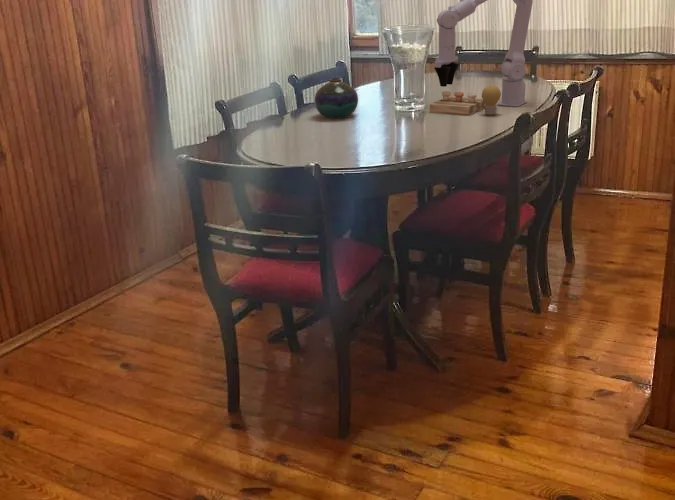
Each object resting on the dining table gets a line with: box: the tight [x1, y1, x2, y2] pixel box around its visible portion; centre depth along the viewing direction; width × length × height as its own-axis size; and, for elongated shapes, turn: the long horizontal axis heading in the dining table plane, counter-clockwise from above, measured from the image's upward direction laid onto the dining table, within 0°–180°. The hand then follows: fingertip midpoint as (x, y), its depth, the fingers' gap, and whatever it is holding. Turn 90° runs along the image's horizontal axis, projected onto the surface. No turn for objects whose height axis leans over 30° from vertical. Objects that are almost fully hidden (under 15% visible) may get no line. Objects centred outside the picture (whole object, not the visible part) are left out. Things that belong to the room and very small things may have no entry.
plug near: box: [467, 92, 478, 103], centre depth 260 cm, size 3×3×3 cm
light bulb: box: [481, 84, 502, 116], centre depth 253 cm, size 6×6×10 cm
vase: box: [314, 77, 359, 119], centre depth 260 cm, size 15×15×13 cm
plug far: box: [441, 90, 452, 101], centre depth 266 cm, size 3×3×3 cm
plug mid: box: [453, 91, 465, 102], centre depth 263 cm, size 3×3×3 cm
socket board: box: [429, 95, 486, 117], centre depth 264 cm, size 16×15×3 cm
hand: (446, 85), depth 264 cm, fingers open, 4 cm apart
